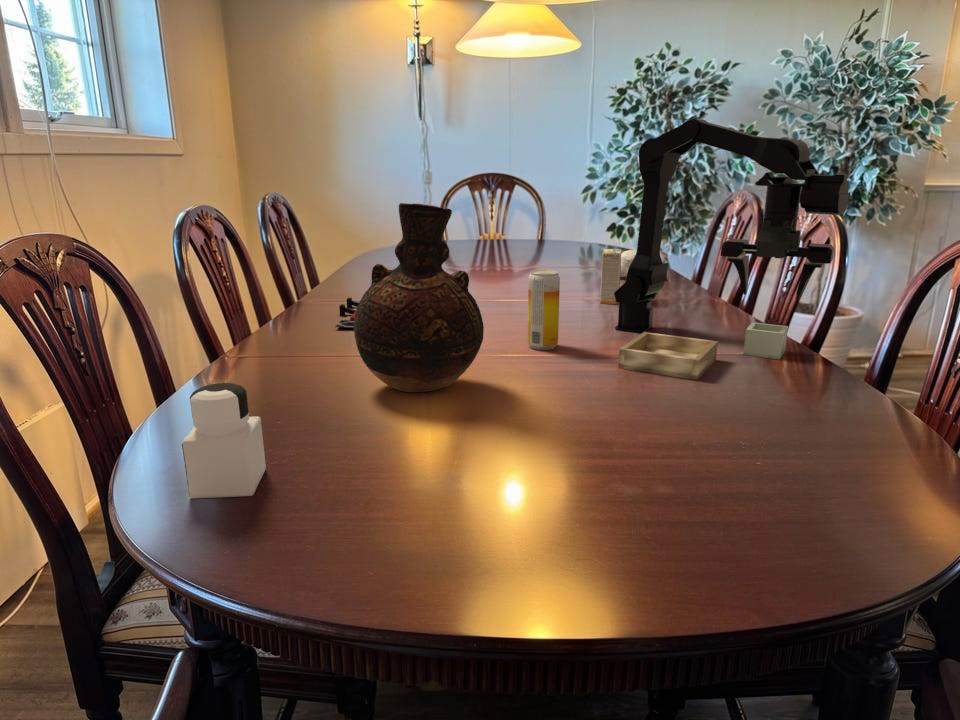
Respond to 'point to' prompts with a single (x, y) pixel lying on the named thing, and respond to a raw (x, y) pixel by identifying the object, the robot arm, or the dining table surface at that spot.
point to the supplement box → (610, 275)
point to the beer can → (543, 309)
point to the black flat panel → (346, 310)
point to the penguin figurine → (627, 260)
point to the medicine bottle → (223, 444)
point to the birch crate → (668, 355)
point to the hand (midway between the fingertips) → (770, 296)
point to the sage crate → (765, 340)
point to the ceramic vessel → (418, 310)
